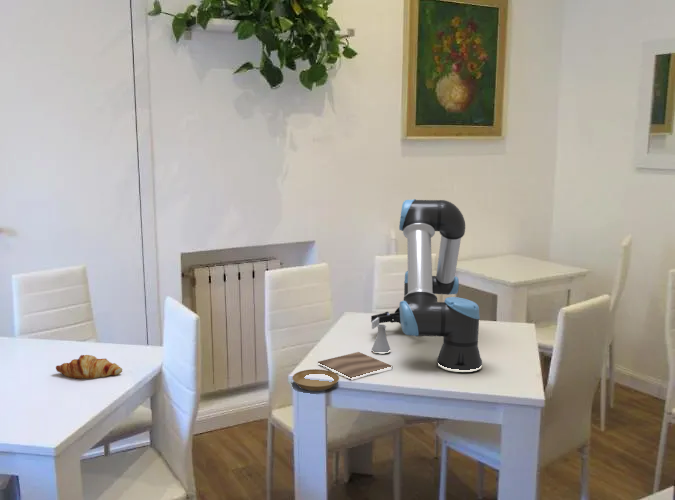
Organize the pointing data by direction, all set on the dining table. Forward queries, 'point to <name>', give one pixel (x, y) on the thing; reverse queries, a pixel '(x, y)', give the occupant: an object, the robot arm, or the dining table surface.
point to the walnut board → (354, 364)
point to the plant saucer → (314, 384)
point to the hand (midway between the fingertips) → (389, 327)
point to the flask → (381, 340)
